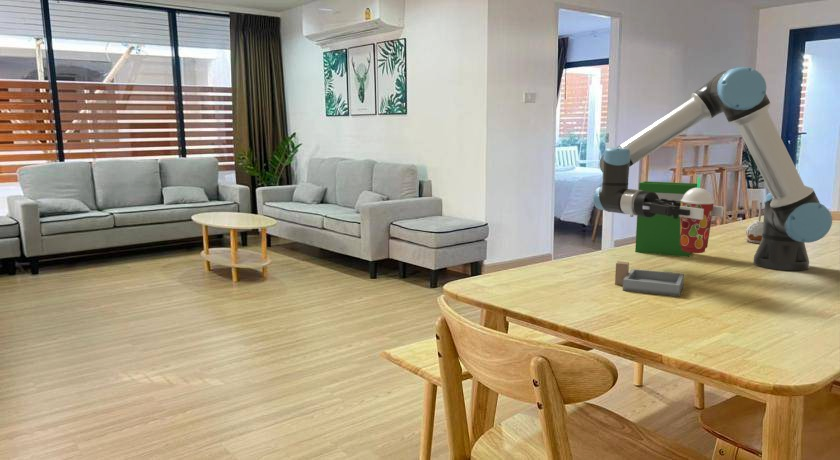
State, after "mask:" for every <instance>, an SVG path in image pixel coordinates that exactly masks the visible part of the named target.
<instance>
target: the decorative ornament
mask: <svg viewBox="0 0 840 460" xmlns="http://www.w3.org/2000/svg"><path fill="white" fill-rule="evenodd" d="M762 206H763V202H759V208H758V211H759V212H758V219H757V220H758V221H757V220H755V221H754V222H751V223H749V224H748V226H747V228H746V229H745V235H746V236H747V237H746V238H745V241H746V242H750V243H753V244H760V242H761V240H762V232H763V221H761V218H762Z"/></svg>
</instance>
